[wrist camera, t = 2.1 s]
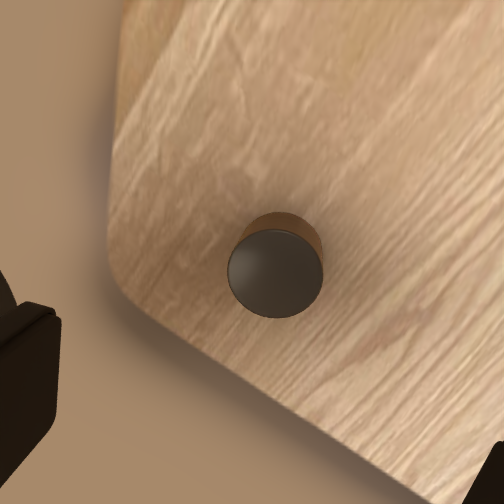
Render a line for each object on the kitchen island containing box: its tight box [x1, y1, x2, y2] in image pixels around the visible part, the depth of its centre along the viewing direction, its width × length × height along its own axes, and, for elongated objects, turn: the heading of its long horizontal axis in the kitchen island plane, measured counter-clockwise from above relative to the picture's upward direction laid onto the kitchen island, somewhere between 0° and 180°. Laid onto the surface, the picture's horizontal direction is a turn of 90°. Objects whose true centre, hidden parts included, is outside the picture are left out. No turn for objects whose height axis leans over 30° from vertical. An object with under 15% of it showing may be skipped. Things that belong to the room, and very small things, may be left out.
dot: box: [227, 212, 323, 318], centre depth 19 cm, size 4×4×3 cm
